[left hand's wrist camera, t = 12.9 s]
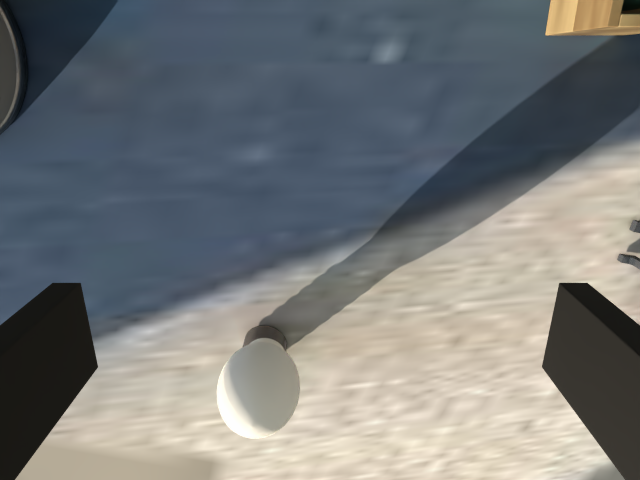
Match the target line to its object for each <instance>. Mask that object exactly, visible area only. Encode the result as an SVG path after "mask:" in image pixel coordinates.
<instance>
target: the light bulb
mask: <svg viewBox="0 0 640 480" xmlns="http://www.w3.org/2000/svg"><path fill="white" fill-rule="evenodd" d="M286 346H287V343H286V339H285V337H284V336H283V334H282V333H281V332H279V331H278V330H277V329H275V328H272V327H269V326H257V327H254V328H252V329H251V330H250V331H249V332H248V333H247V334H246V337H245V340H244V344H243V348H241V349H239V350H238V351H237V352H235V353H234V354H233V355H232V356H231V357H230V359H229V360H228V361H227V363H226V364H225V366H224V368H223V370H222V372H221V374H220V377H219V381H218V386H217V403H218V407H219V411H220V414H221V416H222V418H223V420H224V421H225V423H226V424H227V425H228V427H229V428H230V429H231V430H232V431H234V432H235V433H237V434H239V435H241V436H243V437H246V438H252V439H258V438H264V437H268V436H270V435H272V434H274V433H276V432H277V431H279V430H280V429H281V428H282V427H283V426H285V424H286V423H287V422H288V420H289V419H290V418H291V416H292V415H293V413H294V410H295V408H296V406H297V403H298V398H299V393H300V381H299V374H298V371H297V368H296V365H295V363H294V361H293V360H292V358H291V357H290V356H289V354H288V353H287V352H286Z"/></svg>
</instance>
